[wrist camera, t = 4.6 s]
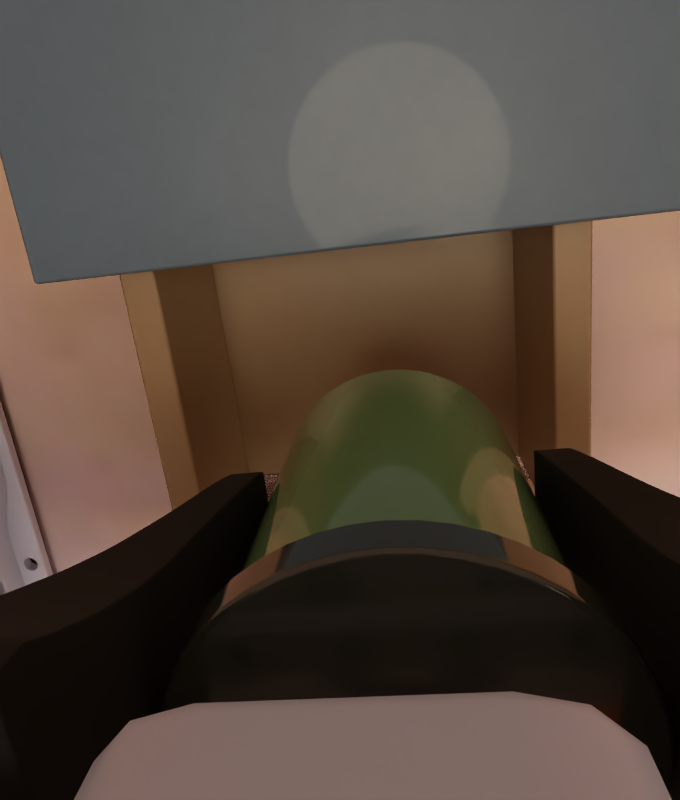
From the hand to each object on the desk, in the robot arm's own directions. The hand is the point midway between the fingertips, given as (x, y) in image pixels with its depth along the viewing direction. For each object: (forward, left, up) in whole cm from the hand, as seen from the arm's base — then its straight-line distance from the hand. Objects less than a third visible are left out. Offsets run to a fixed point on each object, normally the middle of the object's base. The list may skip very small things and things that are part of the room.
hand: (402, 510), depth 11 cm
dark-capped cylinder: (0, 0, -1) cm, 1 cm away
